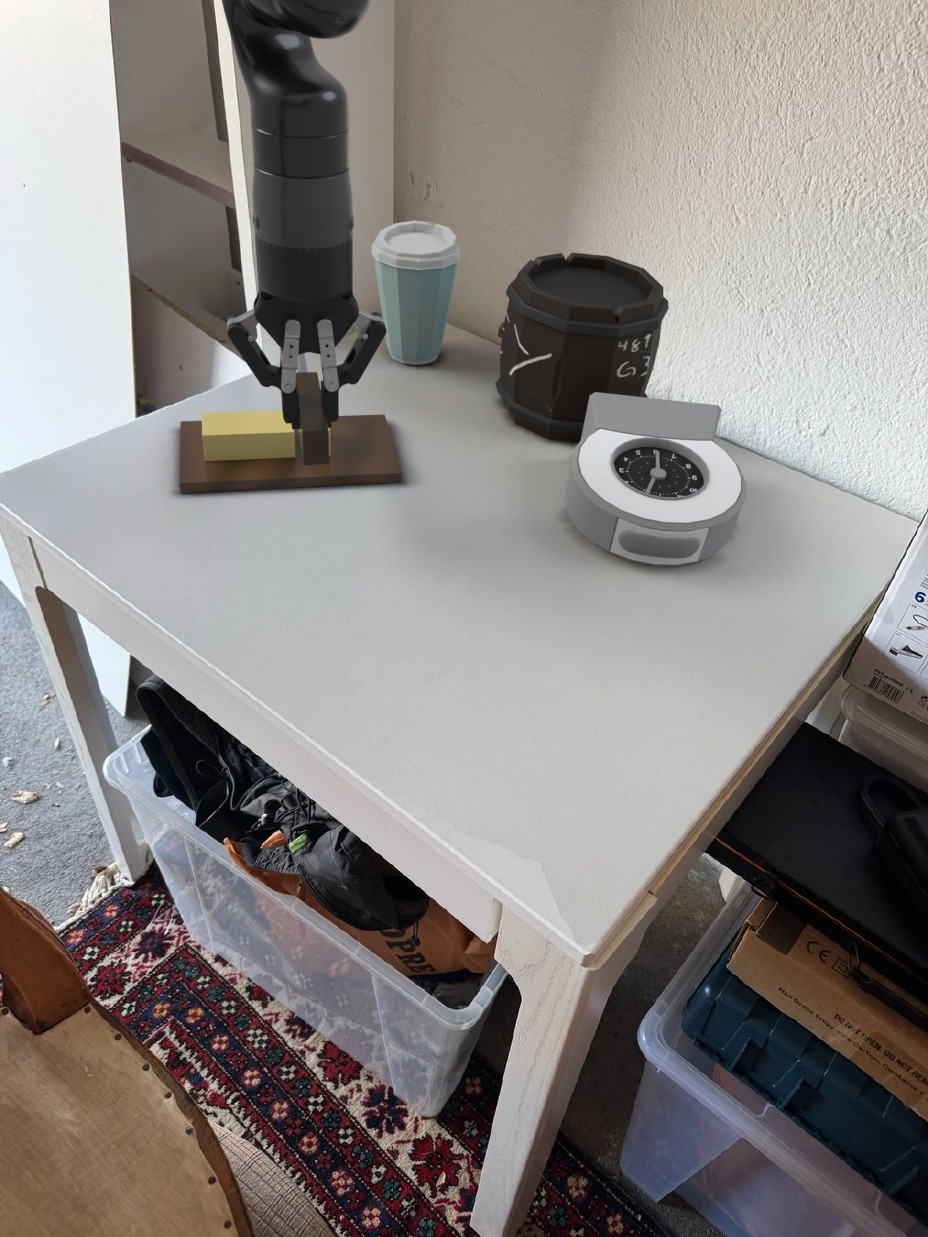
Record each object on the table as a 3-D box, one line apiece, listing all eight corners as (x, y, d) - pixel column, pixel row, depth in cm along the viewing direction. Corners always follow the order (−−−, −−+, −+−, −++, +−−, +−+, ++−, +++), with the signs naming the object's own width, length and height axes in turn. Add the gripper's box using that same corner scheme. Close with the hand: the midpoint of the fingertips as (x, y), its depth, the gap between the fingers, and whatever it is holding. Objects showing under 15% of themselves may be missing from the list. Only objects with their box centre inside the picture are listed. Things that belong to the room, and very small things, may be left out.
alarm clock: (738, 403, 96) (766, 525, 83) (716, 470, 102) (738, 592, 89) (573, 385, 96) (575, 504, 83) (561, 453, 102) (560, 573, 89)
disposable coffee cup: (432, 381, 113) (439, 257, 103) (354, 359, 115) (354, 236, 105) (466, 348, 120) (477, 230, 110) (392, 328, 123) (396, 211, 113)
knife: (329, 464, 80) (328, 430, 78) (303, 465, 80) (302, 431, 78) (306, 343, 96) (305, 312, 93) (285, 343, 95) (283, 312, 93)
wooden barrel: (517, 360, 119) (533, 235, 108) (654, 394, 115) (684, 267, 104) (468, 423, 106) (481, 288, 95) (620, 463, 102) (651, 327, 91)
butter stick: (205, 461, 93) (202, 435, 91) (204, 438, 97) (201, 412, 95) (295, 457, 95) (294, 431, 93) (292, 434, 98) (291, 409, 96)
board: (180, 493, 91) (178, 483, 90) (181, 430, 100) (180, 420, 99) (401, 482, 96) (402, 472, 95) (384, 423, 104) (384, 414, 103)
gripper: (385, 210, 76) (381, 401, 87) (210, 208, 73) (230, 406, 84) (400, 244, 70) (393, 443, 82) (211, 244, 67) (232, 450, 79)
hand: (310, 423), depth 83 cm, fingers closed on knife, 2 cm apart
